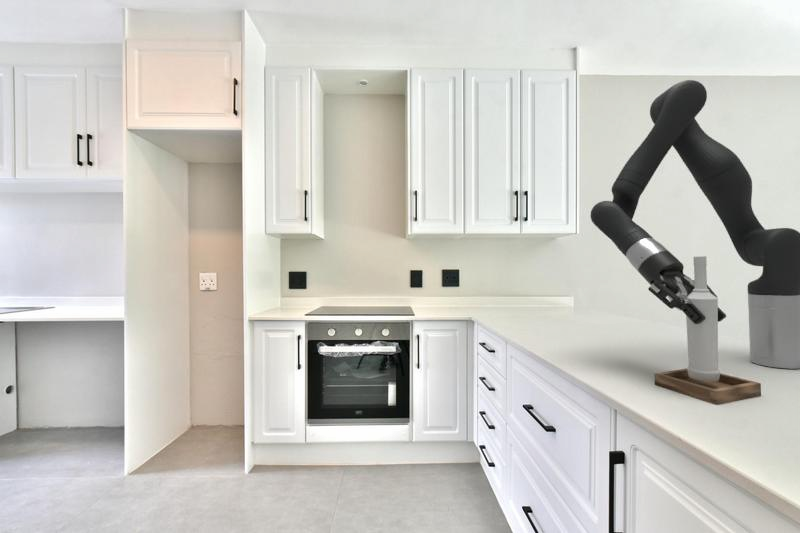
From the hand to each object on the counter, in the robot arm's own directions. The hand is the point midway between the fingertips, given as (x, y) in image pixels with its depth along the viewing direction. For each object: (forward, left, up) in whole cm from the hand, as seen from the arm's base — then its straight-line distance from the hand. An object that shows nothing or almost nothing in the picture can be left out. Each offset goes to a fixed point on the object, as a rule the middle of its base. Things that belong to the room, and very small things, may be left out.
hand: (711, 320), depth 73 cm
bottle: (0, -2, -12) cm, 13 cm away
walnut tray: (0, -2, -15) cm, 15 cm away
